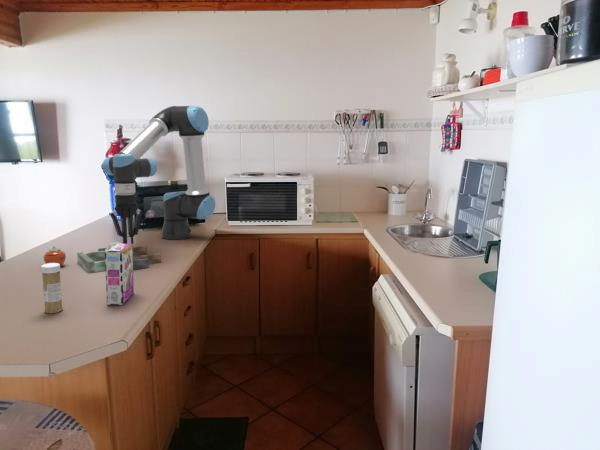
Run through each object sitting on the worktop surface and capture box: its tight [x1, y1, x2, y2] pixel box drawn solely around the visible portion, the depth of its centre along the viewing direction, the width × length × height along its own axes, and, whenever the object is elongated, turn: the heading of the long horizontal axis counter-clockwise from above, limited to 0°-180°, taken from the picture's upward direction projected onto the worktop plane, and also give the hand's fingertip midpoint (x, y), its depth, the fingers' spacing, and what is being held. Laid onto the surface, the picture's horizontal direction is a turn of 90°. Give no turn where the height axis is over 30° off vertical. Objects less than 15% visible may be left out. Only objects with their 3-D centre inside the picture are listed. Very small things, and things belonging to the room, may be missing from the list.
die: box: [105, 240, 122, 251], centre depth 174 cm, size 8×9×10 cm
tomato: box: [43, 245, 67, 268], centre depth 165 cm, size 7×7×8 cm
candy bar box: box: [104, 242, 135, 306], centre depth 132 cm, size 11×5×16 cm, turn 5°
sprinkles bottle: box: [40, 263, 64, 314], centre depth 121 cm, size 5×5×14 cm
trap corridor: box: [76, 245, 162, 274], centre depth 173 cm, size 27×27×4 cm
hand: (128, 252), depth 175 cm, fingers closed
